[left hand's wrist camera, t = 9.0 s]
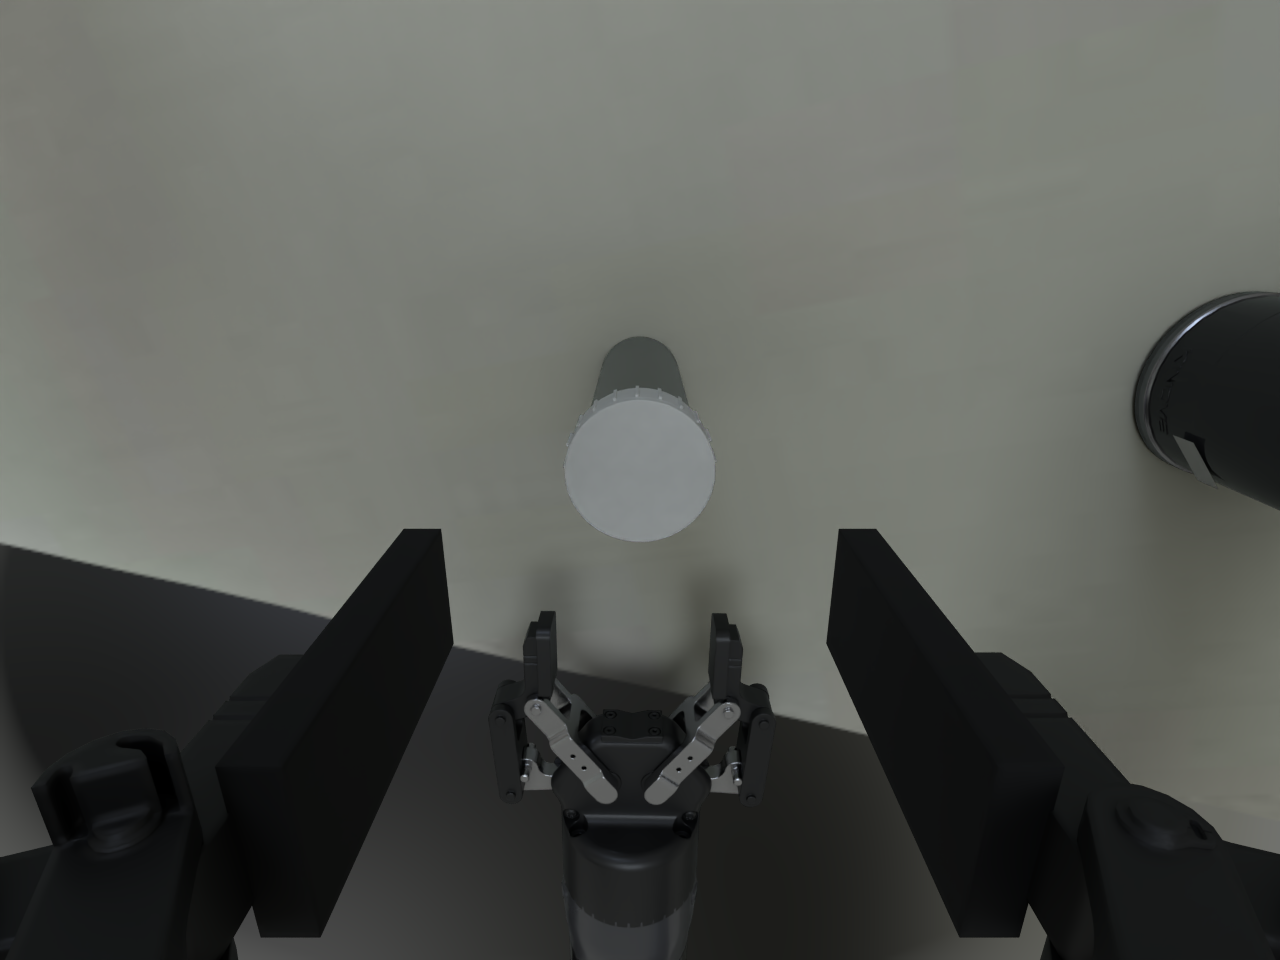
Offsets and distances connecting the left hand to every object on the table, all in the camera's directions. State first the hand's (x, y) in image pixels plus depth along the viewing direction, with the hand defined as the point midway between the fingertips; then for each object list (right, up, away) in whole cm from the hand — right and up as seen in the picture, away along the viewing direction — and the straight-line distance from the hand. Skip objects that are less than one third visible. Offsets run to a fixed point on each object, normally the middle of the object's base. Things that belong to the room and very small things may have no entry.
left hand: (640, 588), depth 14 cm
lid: (0, +3, +7) cm, 7 cm away
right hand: (0, -5, +19) cm, 19 cm away
